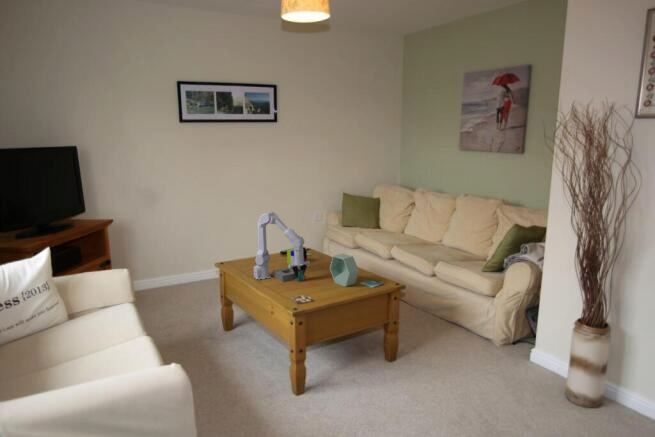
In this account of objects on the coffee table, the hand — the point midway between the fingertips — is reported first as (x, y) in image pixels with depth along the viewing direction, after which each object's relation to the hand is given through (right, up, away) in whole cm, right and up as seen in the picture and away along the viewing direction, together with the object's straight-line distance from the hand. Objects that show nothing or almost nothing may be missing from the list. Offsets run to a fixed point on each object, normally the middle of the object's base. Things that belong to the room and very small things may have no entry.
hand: (299, 277), depth 298 cm
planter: (+28, -3, -6) cm, 29 cm away
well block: (-8, -1, +8) cm, 12 cm away
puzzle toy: (-4, +5, +40) cm, 40 cm away
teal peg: (0, -2, 0) cm, 2 cm away
